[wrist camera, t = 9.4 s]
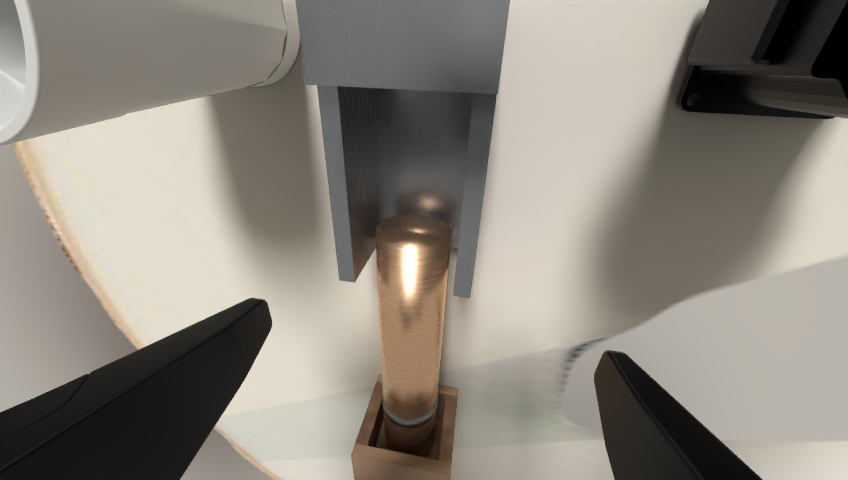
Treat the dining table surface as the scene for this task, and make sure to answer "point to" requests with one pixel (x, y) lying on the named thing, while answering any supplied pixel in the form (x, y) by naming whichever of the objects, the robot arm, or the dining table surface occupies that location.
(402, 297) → the tube
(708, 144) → the dining table surface
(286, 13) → the cup
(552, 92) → the dining table surface
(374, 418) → the socket
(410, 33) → the grey channel holder
